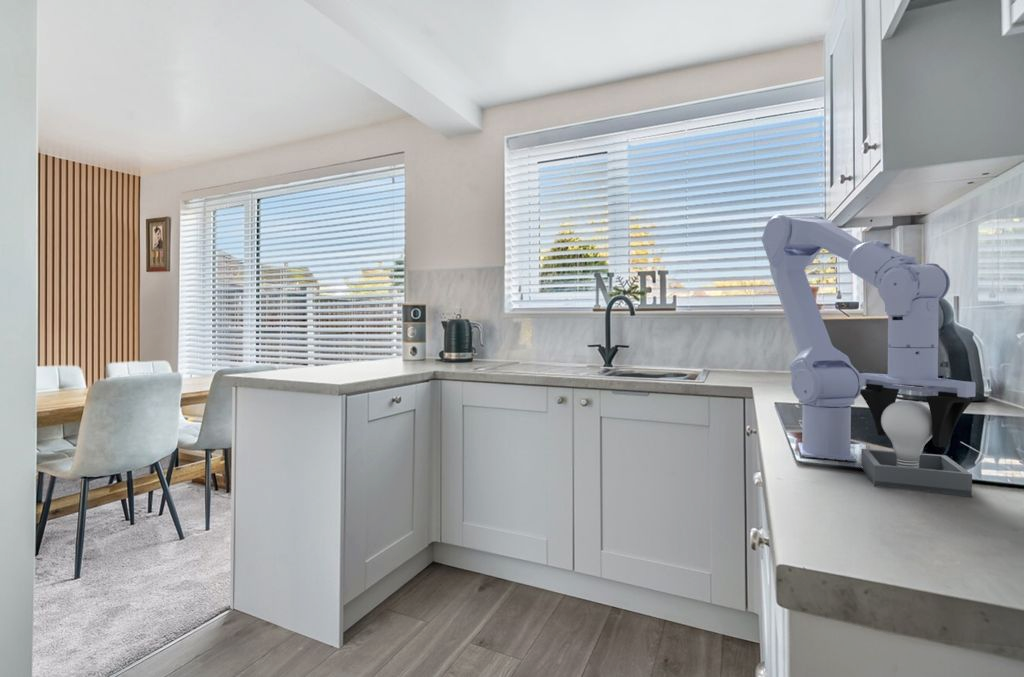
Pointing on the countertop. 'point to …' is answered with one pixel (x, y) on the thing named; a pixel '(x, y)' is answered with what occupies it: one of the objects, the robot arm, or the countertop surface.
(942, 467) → the tray
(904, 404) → the lightbulb
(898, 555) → the countertop surface
